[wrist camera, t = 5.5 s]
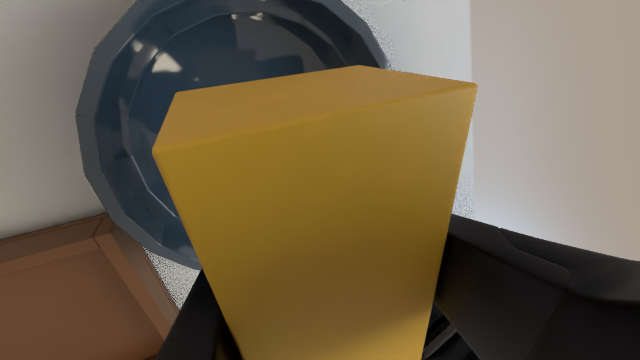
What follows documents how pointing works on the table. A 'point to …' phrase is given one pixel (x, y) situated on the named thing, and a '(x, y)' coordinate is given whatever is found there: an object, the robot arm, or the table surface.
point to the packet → (320, 205)
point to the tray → (81, 295)
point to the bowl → (188, 74)
